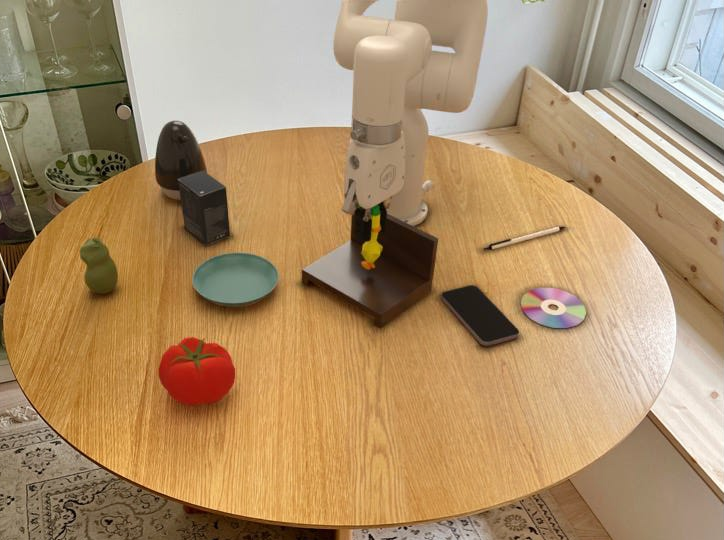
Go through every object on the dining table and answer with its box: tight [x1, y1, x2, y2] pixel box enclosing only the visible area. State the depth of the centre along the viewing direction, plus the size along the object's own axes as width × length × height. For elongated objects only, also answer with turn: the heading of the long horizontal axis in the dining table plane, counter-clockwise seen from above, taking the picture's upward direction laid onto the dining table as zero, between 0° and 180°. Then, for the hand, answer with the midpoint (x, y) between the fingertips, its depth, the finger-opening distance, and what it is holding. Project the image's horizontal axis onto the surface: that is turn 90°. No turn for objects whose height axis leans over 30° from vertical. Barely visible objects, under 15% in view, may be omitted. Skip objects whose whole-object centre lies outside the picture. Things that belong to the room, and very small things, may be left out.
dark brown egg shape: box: [154, 120, 208, 201], centre depth 147 cm, size 10×10×15 cm
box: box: [178, 171, 231, 246], centre depth 139 cm, size 8×6×11 cm
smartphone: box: [440, 284, 520, 347], centre depth 127 cm, size 7×1×15 cm
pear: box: [79, 237, 119, 295], centre depth 125 cm, size 6×5×10 cm
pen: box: [483, 226, 566, 251], centre depth 144 cm, size 1×19×1 cm, turn 116°
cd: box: [520, 287, 587, 329], centre depth 129 cm, size 11×11×1 cm
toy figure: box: [361, 205, 383, 270], centre depth 124 cm, size 7×4×12 cm, turn 33°
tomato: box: [158, 336, 236, 408], centre depth 109 cm, size 11×11×9 cm
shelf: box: [301, 206, 439, 330], centre depth 128 cm, size 14×18×11 cm
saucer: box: [191, 252, 280, 308], centre depth 130 cm, size 15×15×3 cm
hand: (369, 232), depth 124 cm, fingers closed on toy figure, 3 cm apart
